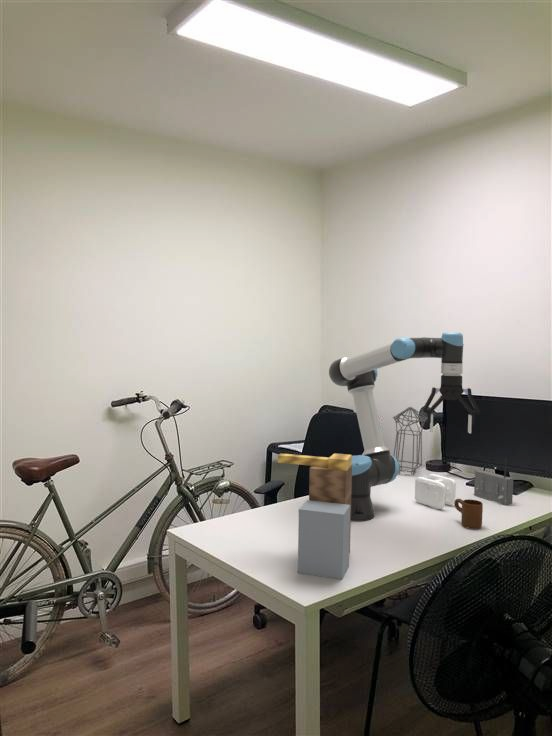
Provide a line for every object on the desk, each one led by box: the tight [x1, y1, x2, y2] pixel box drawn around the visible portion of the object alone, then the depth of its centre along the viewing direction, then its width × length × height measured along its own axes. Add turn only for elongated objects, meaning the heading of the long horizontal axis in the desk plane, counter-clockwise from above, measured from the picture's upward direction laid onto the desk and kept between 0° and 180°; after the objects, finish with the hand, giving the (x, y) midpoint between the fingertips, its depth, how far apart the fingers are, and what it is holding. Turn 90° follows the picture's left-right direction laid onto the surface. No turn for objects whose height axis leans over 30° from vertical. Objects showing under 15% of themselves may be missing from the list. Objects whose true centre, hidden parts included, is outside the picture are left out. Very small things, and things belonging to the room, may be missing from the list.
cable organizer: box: [414, 473, 457, 510], centre depth 250 cm, size 15×11×12 cm
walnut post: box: [308, 465, 352, 554], centre depth 192 cm, size 12×10×30 cm
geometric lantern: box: [392, 406, 427, 476], centre depth 302 cm, size 16×16×35 cm
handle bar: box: [277, 453, 353, 471], centre depth 193 cm, size 24×8×4 cm, turn 72°
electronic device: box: [473, 458, 514, 506], centre depth 257 cm, size 17×7×20 cm, turn 33°
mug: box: [453, 498, 484, 530], centre depth 225 cm, size 12×8×9 cm, turn 34°
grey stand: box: [297, 499, 351, 580], centre depth 181 cm, size 14×10×20 cm
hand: (450, 432), depth 214 cm, fingers open, 13 cm apart
